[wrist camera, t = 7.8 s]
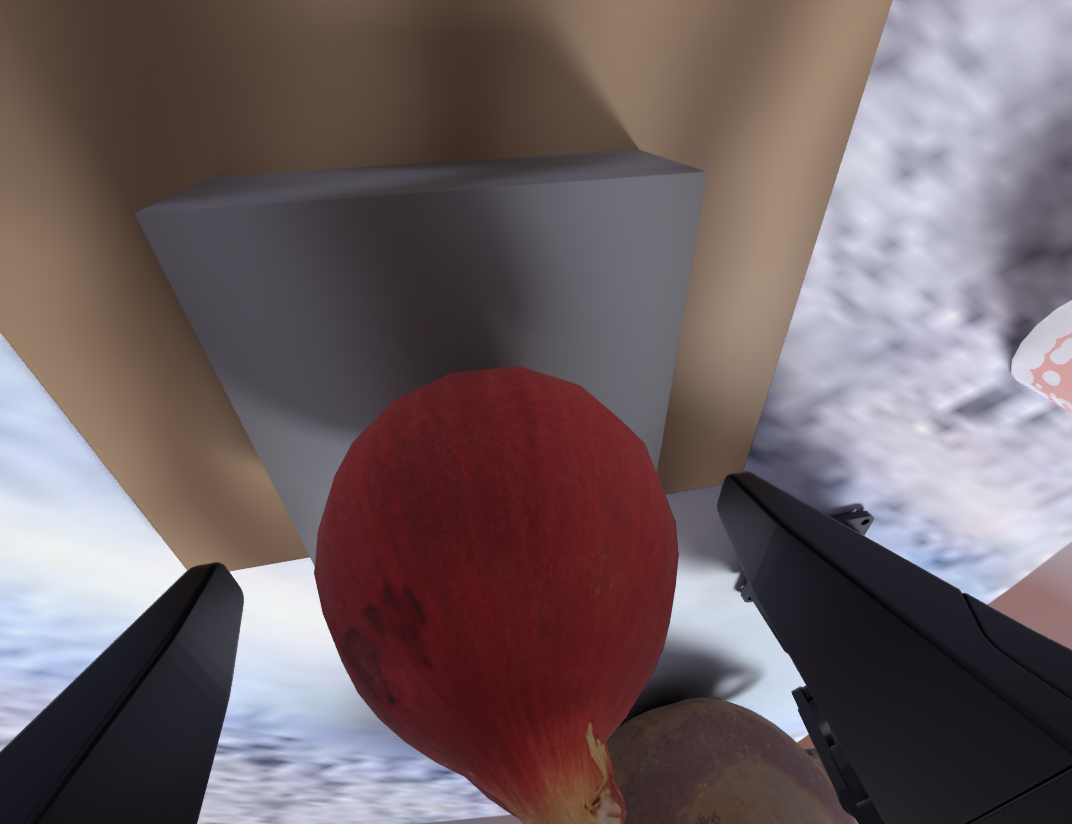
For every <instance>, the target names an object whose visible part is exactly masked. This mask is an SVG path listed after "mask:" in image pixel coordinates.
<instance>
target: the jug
mask: <svg viewBox="0 0 1072 824" xmlns="http://www.w3.org/2000/svg"><path fill="white" fill-rule="evenodd" d="M607 746H608V751H609V756H610V760H611V765H612V769H613V774H614V779H615V783H616V785H617V787H618V788H619V790H620V792H621V794H622V796H623V798H624V803H625V807H626V812H627V814H626V817H625V821H624V824H857V822H856V820H855V819H854V817H852V816H851V815H849V814H847V813H846V812H845V811H844V809H843V808H842V806H841V805H840V803H839V800H838V797H837V795H836V792H835V789H834V787H833V785H832V783H831V780H830V778H829V776H828V774H827V772H826V770H825V768H824V765H823V763H822V761H821V759H820V757H819V755H818V753H817V750H816V748H813V749H802V748H801V747H800V746H799V745H798V744H797V743H796V742H795V741H794V740H793V739H792V738H791V737H790V736H789V735H787V734H786V733H785V732H784V731H782V730H781V729H780V728H779V727H777V726H776V725H775V724H773V723H772V722H770V721H769V720H767V719H765V718H764V717H762V716H761V715H759V714H757V713H755V712H753V711H752V710H749V709H747V708H744V707H742V706H739V705H736V704H733V703H730V702H727V701H723V700H718V699H711V698H703V697H701V698H690V699H686V700H683V701H679V702H676V703H672V704H669V705H665V706H662V707H658V708H654V709H651V710H649V711H646V712H644V713H642V714H640V715H638V716H636V717H634V718H632V719H630V720H629V721H627V722H626V723H625V724H623V725H622V726H621V727H619V728H618V729H617V730H616V731H615V732H614V733H613V734H612V735H611V737H610V738H609V739H608V740H607Z"/></svg>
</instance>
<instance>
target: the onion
mask: <svg viewBox="0 0 1072 824" xmlns="http://www.w3.org/2000/svg"><path fill="white" fill-rule="evenodd" d="M678 557H679V552H678V542H677V532H676V521H675V519H674V516H673V514H672V511H671V509H670V506H669V503H668V501H667V498H666V496H665V493H664V491H663V488H662V485H661V483H660V480H659V478H658V475H657V473H656V470H655V467H654V465H653V462H652V460H651V457H650V455H649V452H648V450H647V447H646V444H645V443H644V442H643V441H642V440H641V439H640V438H639V437H638V436H637V435H636V434H635V433H634V432H633V431H632V430H631V429H630V428H629V427H628V426H627V425H626V424H625V423H624V422H623V421H622V420H621V419H619V418H618V417H617V416H616V415H615V414H614V413H612V412H611V411H610V410H609V409H608V408H607V407H605V406H604V405H603V404H602V403H601V402H600V401H598V400H597V399H596V398H595V397H594V396H593V395H591V394H590V393H589V392H588V391H587V390H586V389H584V388H583V387H582V386H581V385H578V384H575V383H572V382H568V381H565V380H562V379H559V378H556V377H553V376H550V375H547V374H544V373H540V372H537V371H534V370H531V369H528V368H525V367H522V366H514V367H504V368H494V369H484V370H474V371H464V372H454V373H450V374H448V375H446V376H444V377H442V378H440V379H438V380H436V381H433V382H431V383H429V384H427V385H425V386H423V387H421V388H419V389H416V390H414V391H412V392H410V393H408V394H406V395H404V396H402V397H400V398H398V399H396V400H394V401H393V402H392V403H391V404H390V405H389V406H388V407H387V408H386V409H385V410H384V411H383V412H382V413H381V414H380V415H379V416H378V417H377V418H376V419H375V420H374V421H373V422H372V423H371V424H370V425H369V426H368V427H367V428H366V429H365V430H364V431H363V432H362V433H361V434H360V435H359V436H358V437H357V438H356V439H355V440H354V441H353V442H352V444H351V446H350V448H349V449H348V451H347V453H346V455H345V457H344V459H343V461H342V463H341V464H340V466H339V468H338V470H337V472H336V474H335V476H334V479H333V483H332V486H331V489H330V493H329V496H328V499H327V502H326V506H325V509H324V512H323V515H322V519H321V522H320V525H319V529H318V533H317V545H316V558H315V570H314V575H315V579H316V584H317V589H318V593H319V598H320V603H321V607H322V612H323V615H324V618H325V620H326V623H327V625H328V628H329V630H330V633H331V635H332V638H333V641H334V643H335V646H336V648H337V651H338V653H339V656H340V658H341V661H342V663H343V665H344V667H345V669H346V671H347V673H348V675H349V676H350V678H351V680H352V682H353V684H354V686H355V688H356V690H357V692H358V694H359V695H360V696H361V697H362V699H363V700H364V701H365V702H366V703H367V705H368V706H369V707H370V708H371V710H372V711H373V712H374V713H375V714H376V716H377V717H378V718H379V719H380V720H381V721H382V722H383V723H384V724H385V725H386V726H388V727H389V728H390V729H391V730H392V731H393V732H395V733H396V734H397V735H398V736H399V737H400V738H401V739H403V740H404V741H405V742H406V743H408V744H409V745H411V746H412V747H414V748H415V749H417V750H418V751H420V752H421V753H423V754H424V755H426V756H427V757H429V758H430V759H432V760H433V761H435V762H436V763H438V764H440V765H442V766H444V767H446V768H448V769H450V770H452V771H454V772H456V773H458V774H460V775H462V776H464V777H466V778H467V779H468V780H469V781H470V782H471V783H472V784H473V785H474V786H475V787H477V788H478V789H479V790H480V791H481V792H482V793H483V794H484V795H485V796H486V797H487V798H488V799H490V800H491V801H493V802H494V803H496V804H497V805H499V806H500V807H502V808H503V809H505V810H506V811H507V812H509V813H510V814H512V815H513V816H515V817H516V818H518V819H520V820H521V821H522V822H523V823H524V824H624V821H625V817H626V814H627V812H626V807H625V803H624V798H623V796H622V794H621V792H620V790H619V788H618V787H617V785H616V783H615V779H614V774H613V769H612V765H611V760H610V756H609V751H608V746H607V740H608V739H609V738H610V737H611V735H612V734H613V733H614V732H615V730H616V729H617V728H618V727H619V725H620V724H621V723H622V722H623V720H624V719H625V718H626V716H627V715H628V713H629V711H630V710H631V708H632V707H633V705H634V703H635V702H636V700H637V698H638V697H639V695H640V693H641V692H642V690H643V689H644V687H645V685H646V684H647V682H648V680H649V679H650V677H651V675H652V674H653V672H654V669H655V667H656V665H657V662H658V660H659V657H660V655H661V653H662V650H663V648H664V644H665V640H666V636H667V632H668V628H669V624H670V618H671V612H672V606H673V599H674V593H675V587H676V577H677V567H678Z"/></svg>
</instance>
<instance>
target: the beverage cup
mask: <svg viewBox="0 0 1072 824" xmlns="http://www.w3.org/2000/svg"><path fill="white" fill-rule="evenodd" d="M1011 374H1012V375H1013V377H1014V378H1015V379H1016V380H1017V381H1018V382H1020V383H1022V384H1023V385H1025V386H1027V387H1028V388H1030V389H1032V390H1033V391H1035V392H1037V393H1039V394H1040V395H1042V396H1044V397H1045V398H1047V399H1049V400H1051V401H1052V402H1054V403H1056V404H1057V405H1059V406H1061V407H1063V408H1064V409H1066V410H1068V411H1069V412H1071V413H1072V300H1071V301H1069V302H1068V303H1066V304H1064V305H1062V306H1060V307H1059V308H1057V309H1056V310H1054V311H1053V312H1052V313H1051V314H1050V315H1048V316H1047V317H1046V318H1045V319H1043V320H1042V321H1041V322H1040V323H1039V324H1037V325H1036V326H1035V328H1034V329H1033V330H1032V331H1031V332H1030V333H1029V335H1028V336H1027V337H1026V338H1025V339H1024V340H1023V341H1022V343H1021V344H1020V346H1019V348H1018V350H1017V352H1016V354H1015V355H1014V357H1013V359H1012V366H1011Z"/></svg>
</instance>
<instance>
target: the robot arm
mask: <svg viewBox="0 0 1072 824" xmlns="http://www.w3.org/2000/svg"><path fill="white" fill-rule="evenodd" d="M717 508H718V513H719V516H720V519H721V521H722V523H723V526H724V528H725V530H726V532H727V535H728V537H729V539H730V542H731V544H732V546H733V548H734V551H735V553H736V555H737V558H738V560H739V562H740V564H741V567H742V569H743V571H744V573H745V576H746V578H747V579H746V581H745V584H744V586H743V589H742V591H741V597H742V598H743V600H744V601H745V602H754V604H755V605H756V607H757V609H758V610H759V612H760V613H761V615H762V616H763V618H764V620H765V621H766V623H767V624H768V626H769V627H770V629H771V631H772V632H773V634H774V635H775V637H776V639H777V640H778V642H779V643H780V645H781V646H782V648H783V650H784V651H785V652H786V653H787V654H789V656H790V657H791V659H792V661H793V663H794V664H795V666H796V668H797V670H798V672H799V673H800V675H801V677H802V679H803V680H804V682H805V684H806V686H804V687H801V686H800V687H798V688H797V689H795V690H793V691H792V695H793V697H794V699H795V701H796V704H797V706H798V712H799V714H800V716H801V718H802V720H803V722H804V725H805V727H806V729H807V731H808V733H809V735H810V737H811V740H812V742H813V744H814V746H815V748H816V750H817V753H818V755H819V757H820V759H821V761H822V763H823V765H824V768H825V770H826V772H827V774H828V776H829V778H830V780H831V783H832V785H833V787H834V789H835V792H836V795H837V797H838V800H839V803H840V805H841V806H842V808H843V809H844V811H845V812H846V813H847V814H849V815H851V816H852V817H854V818H855V819H856V820H857V822H858V823H859V824H1072V650H1071V649H1069V648H1067V647H1065V646H1063V645H1061V644H1059V643H1057V642H1055V641H1054V640H1052V639H1049V638H1048V637H1046V636H1044V635H1042V634H1040V633H1038V632H1036V631H1034V630H1032V629H1031V628H1029V627H1027V626H1025V625H1023V624H1021V623H1019V622H1018V621H1016V620H1014V619H1012V618H1010V617H1008V616H1007V615H1005V614H1003V613H1001V612H999V611H997V610H996V609H994V608H992V607H990V606H988V605H987V604H985V603H983V602H981V601H979V600H978V599H976V598H974V597H972V596H970V595H969V594H967V593H962V592H961V591H960V590H959V589H958V588H956V587H954V586H952V585H951V584H949V583H947V582H945V581H943V580H942V579H940V578H938V577H936V576H935V575H933V574H931V573H929V572H927V571H926V570H924V569H922V568H920V567H919V566H917V565H915V564H913V563H911V562H910V561H908V560H906V559H904V558H902V557H901V556H899V555H897V554H895V553H894V552H892V551H890V550H888V549H886V548H885V547H883V546H881V545H879V544H878V543H876V542H874V541H872V540H870V539H869V538H867V537H865V536H864V535H865V533H866V532H867V530H868V528H869V527H870V525H871V523H872V522H873V520H874V517H873V516H872V515H871V514H870V513H869V512H868V511H860V512H855V513H850V514H844V515H839V516H834V517H829V516H828V515H826V514H824V513H822V512H820V511H819V510H817V509H815V508H813V507H812V506H810V505H808V504H806V503H804V502H803V501H801V500H799V499H797V498H796V497H794V496H792V495H790V494H788V493H787V492H785V491H783V490H781V489H779V488H778V487H776V486H774V485H772V484H771V483H769V482H767V481H765V480H763V479H762V478H760V477H758V476H756V475H755V474H753V473H750V472H746V471H745V472H738V473H732V474H729V475H727V476H726V477H725V479H724V482H723V486H722V489H721V493H720V496H719V500H718V504H717ZM243 605H244V597H243V592H242V590H241V588H240V586H239V585H238V583H237V582H236V581H235V579H234V578H233V576H232V575H231V573H230V572H229V570H228V569H227V568H226V566H225V565H224V564H222V563H220V562H214V563H208V564H202V565H197V566H194V567H192V568H190V569H189V570H188V571H186V572H185V573H184V574H183V575H182V576H181V577H180V578H179V579H178V580H177V581H176V582H175V583H174V584H173V585H172V586H171V587H170V588H169V589H168V590H167V591H166V592H165V593H164V594H163V595H162V596H161V597H159V598H158V599H157V600H156V601H155V602H154V603H153V604H152V605H151V606H150V607H149V608H148V609H147V610H146V611H145V612H144V613H143V614H142V615H141V616H140V617H139V618H138V619H137V620H136V621H135V622H134V623H133V624H132V625H131V626H130V627H129V628H127V629H126V630H125V631H124V632H123V633H122V634H121V635H120V636H119V637H118V638H117V639H116V640H115V641H114V642H113V643H112V644H111V645H110V646H109V647H108V648H107V649H106V650H105V651H104V652H103V653H102V654H101V655H100V656H99V657H98V658H97V659H95V660H94V661H93V662H92V663H91V664H90V665H89V666H88V667H87V668H86V669H85V670H84V671H83V672H82V673H81V674H80V675H79V676H78V677H77V678H76V679H75V680H74V681H73V682H72V683H71V684H70V685H69V686H68V687H67V688H66V689H65V690H63V691H62V692H61V693H60V694H59V695H58V696H57V697H56V698H55V699H54V700H53V701H52V702H51V703H50V704H49V705H48V706H47V707H46V708H45V709H44V710H43V711H42V712H41V713H40V714H39V715H38V716H37V717H36V718H35V719H34V720H33V721H31V722H30V723H29V724H28V725H27V726H26V727H25V728H24V729H23V730H22V731H21V732H20V733H19V734H18V735H17V736H16V737H15V738H14V739H13V740H12V741H11V742H10V743H9V744H8V745H7V746H6V747H5V748H4V749H3V750H2V751H1V752H0V824H197V822H198V818H199V814H200V811H201V807H202V803H203V799H204V795H205V791H206V787H207V784H208V780H209V776H210V772H211V768H212V764H213V760H214V757H215V753H216V749H217V745H218V741H219V737H220V733H221V730H222V726H223V722H224V718H225V714H226V710H227V706H228V701H229V697H230V692H231V686H232V680H233V674H234V667H235V660H236V653H237V646H238V639H239V632H240V626H241V619H242V612H243Z"/></svg>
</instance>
